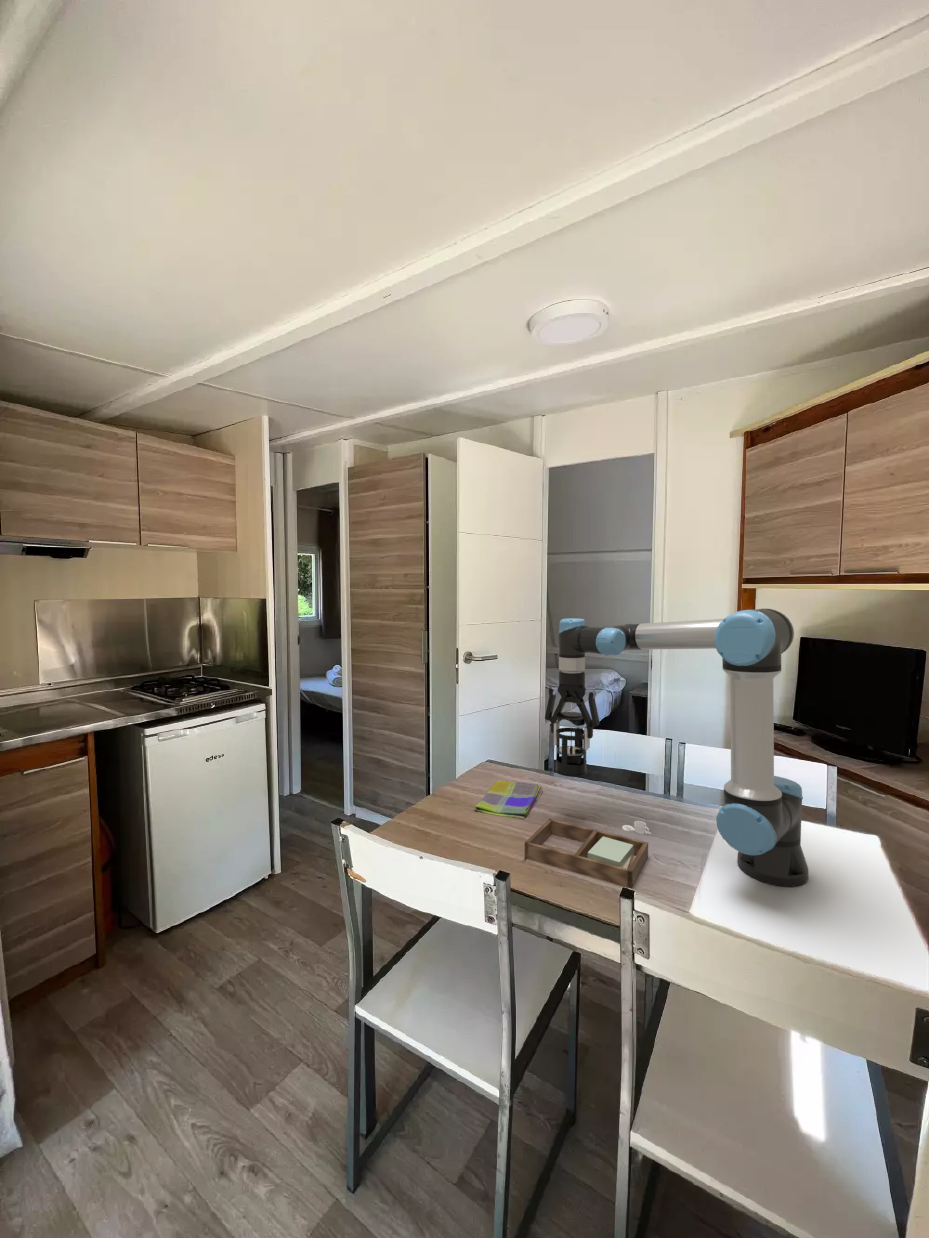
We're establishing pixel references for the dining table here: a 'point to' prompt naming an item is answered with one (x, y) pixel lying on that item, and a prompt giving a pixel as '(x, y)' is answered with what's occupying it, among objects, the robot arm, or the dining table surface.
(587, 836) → the walnut tray
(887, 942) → the dining table surface
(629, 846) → the sage offcut top
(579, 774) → the french press
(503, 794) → the dish towel
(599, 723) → the robot arm
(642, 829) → the teacup and saucer
